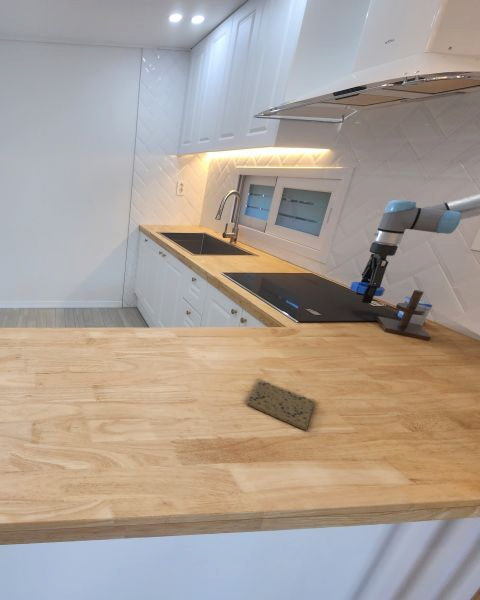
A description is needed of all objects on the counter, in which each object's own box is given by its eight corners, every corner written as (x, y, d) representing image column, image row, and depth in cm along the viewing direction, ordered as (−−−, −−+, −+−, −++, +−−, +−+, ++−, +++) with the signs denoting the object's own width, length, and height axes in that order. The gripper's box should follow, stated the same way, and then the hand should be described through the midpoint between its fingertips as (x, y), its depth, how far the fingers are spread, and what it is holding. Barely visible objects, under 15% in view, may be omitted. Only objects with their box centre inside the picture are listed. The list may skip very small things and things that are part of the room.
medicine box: (396, 316, 134) (405, 295, 131) (409, 317, 133) (419, 297, 130) (408, 324, 127) (418, 303, 123) (422, 326, 126) (433, 304, 122)
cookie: (245, 404, 77) (246, 401, 76) (259, 381, 85) (260, 378, 85) (306, 431, 70) (307, 427, 69) (314, 403, 78) (315, 400, 78)
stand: (416, 328, 124) (435, 290, 118) (428, 341, 114) (449, 300, 108) (376, 319, 129) (392, 282, 123) (384, 331, 119) (401, 292, 113)
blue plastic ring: (378, 290, 134) (381, 285, 133) (385, 298, 126) (387, 292, 125) (348, 285, 138) (350, 279, 137) (352, 292, 130) (354, 286, 129)
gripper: (366, 237, 136) (346, 288, 144) (380, 246, 117) (356, 305, 125) (390, 240, 132) (368, 292, 141) (408, 250, 114) (382, 310, 122)
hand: (362, 298), depth 133 cm, fingers closed on blue plastic ring, 10 cm apart
